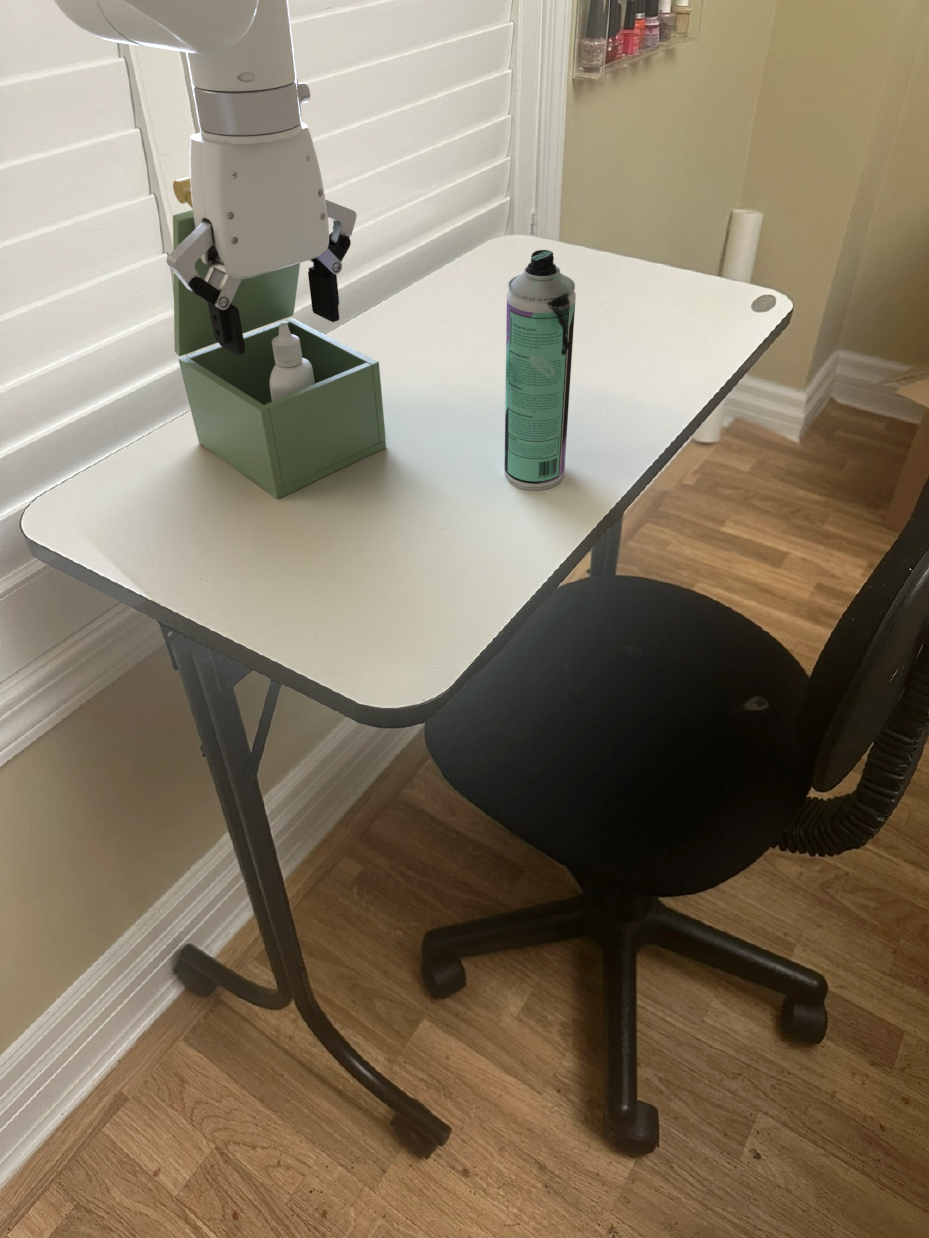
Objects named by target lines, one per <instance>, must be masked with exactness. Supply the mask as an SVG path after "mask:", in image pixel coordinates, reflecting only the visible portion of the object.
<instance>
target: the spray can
mask: <svg viewBox="0 0 929 1238" xmlns="http://www.w3.org/2000/svg"><path fill="white" fill-rule="evenodd" d="M554 261H555V259H554V252H553V251H551V250H548V249H538V250H535V251H533V252H532V253H531V256H530V262H529V263H528V265H527V266H526V267H525V268H524V269H523V272H522V273H521V274H518V275H516V276H514V277H512V278H511V279H510V280H509V281H508V283H507V284H508V285H507V289H508V290H507V292H506V322H505V323H506V328H505V402H504V403H505V404H504V477H505V479H506V481H507V482H508V483H510V484H511V485H512V486H514V487H516V488H518V489H521V490H525V491H526V490H527V491H543V490H549V489H551V488H553V487H556V486H557V485H559V484H560V483H561V482H562V481H563V480H564V477H565V468H566V451H567V437H568V422H569V420H568V419H569V406H570V405H569V404H570V402H569V401H570V390H571V375H572V374H571V373H572V360H573V359H572V358H573V344H574V343H573V342H574V328H575V312H576V298H577V297H576V295H577V294H576V292H575V290H576V283H575V282H574V280H573V279H572V278H570V277H569V276H567V275H564V274H563V273H561V269H560V268H559V266H557V265H556V263H555V262H554Z"/></svg>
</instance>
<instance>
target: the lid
mask: <svg viewBox="0 0 929 1238" xmlns="http://www.w3.org/2000/svg"><path fill="white" fill-rule="evenodd" d="M172 190H173V193H174V196H175V198H176V199H177V201H178V202H179V203H180V204H181V205H184V204H188V206H190V208H191V209H190V210H187V211H183V212H179V213H176V214H173V215H172V252H173V251H174V250H175V249H176V248H177V247H178V246H179V245H180V244H181V243H182V242H183V241H184V240H185V239H186V238H187V237H188V236H189V235H190V234H191V233H192V232H193V231H194V230H195V223H194V215H193V206H192V196H191V184H190V176H187V177H182V178H179V179H175V180H173V183H172ZM195 269H196V271H197V272H198V274H199V276H200V277H201V278H202V279H203V280H205V278H206V275H207V273H208V271H209V269H210V266H207V265H205V264H204V263H203V262H202V260H201V257H200V258H199V259H198V260H197V261H196V263H195ZM300 269H301V263H299V264H295V265H292V266H289V267H285V268H282V269H279V270H276V271H272V272H269V273H265V274H262V275H259V276H255V277H251V278H247V279H242V280H241V282H240V284H239V286H238V289H237V291H236V293H235V295H234V297H233V300H232V302H231V304H232V305H234V306H235V307H237V308H238V310H239V315H240V321H241V327H242V333H243V334H245V333H246V334H247V333H250V332H251V331H252V332H253V331H255V330H258V329H259V328H260V329H261V328H264V327H266V326H269V325H272V324H275V323H278V322H280V321H283V320H286V319H289V318H290V317H293V316H294V314H295V306H296V298H297V292H298V291H297V290H298V284H299V276H300ZM173 319H174V320H173V329H174V330H173V334H174V335H173V336H174V338H173V339H174V340H173V341H174V342H173V343H174V352H175V353H176V355H177V356H178V357H182V356H184V355H189V354H192V353H194V352H197V351H200V350H203V349H205V348H207V347H211V346H214V345H217V344H219V343H218V342H217V341H216V339H215V337H214V332H213V327H212V322H211V317H210V312H209V307H208V302H206V301H204V300H203V299H201V298H200V297H199V296H197V295H196V294H194V293H193V292H191V291H190V290H188V289H187V288H185V287H184V285H183V283H182V281H181V280H180V279H179V278H178V277H177V276H176V274H175V273H174V272H173Z"/></svg>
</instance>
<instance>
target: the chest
mask: <svg viewBox="0 0 929 1238" xmlns="http://www.w3.org/2000/svg"><path fill="white" fill-rule="evenodd" d="M281 323H286V324H287V325H288V328H289V331H290V333H291V334H292V335H296V336H297V337H298V338H299V339H300V346H301V353H302V358H305V359H307V360H308V361H309V362H310V363H311V365H312V369H313V375H314V381H315V384H313V385H311V386H309V387H306V388H304V389H301V390H299V391H296V392H294V393H292V394H289V395H287V396H284V397H282V398H279V399H277V400H275V401H272V399H271V392H270V376H271V372H272V370H273V368H274V366H275V365H276V363H275V359H274V353H273V347H272V340H273V339H274V338H275V337H277V336H278V335H279V324H281ZM243 338H244V344H245V351H244V354H241V355H236V354H234V353H232V352H231V351H229V350H227V349H225V348H224V347H222V346H221V345H220V344H219V343H217V344H214V345H212V346H209V347H208V348H207V347H206V348H203V349H201V350H198V351H195V352H192V353H190V354H187V355H186V356H183V357H182V356H181V357H180V358H178V363H179V368H180V371H181V372H180V373H181V375H182V379H183V384H184V388H185V393H186V396H187V400H188V404H189V409H190V412H191V417H192V420H193V425H194V428H195V429H194V430H195V432H196V436H197V440H198V443H199V444H200V445H201V446H202V447H204V448H206V449H207V450H208V451H210V453H212V454H214V455H215V456H216V457H218V458H219V459H221V460H222V461H224V462H225V463H226V464H228V465H229V466H231V467H232V468H233V469H235V470H236V471H237V472H239V473H241V474H242V475H244V477H246V478H247V479H249V481H252V482H253V483H255V484H256V485H257V486H258V487H260V488H261V489H263V490H264V491H266V492H267V493H268V494H270V495H271V496H273V498H276V499H277V500H279V499H281V498H283V497H285V496H287V495H290V494H291V493H293V492H295V491H297V490H300V489H302V488H304V487H306V486H309V485H310V484H312V483H315V482H316V481H318V480H321V479H323V478H325V477H326V476H329V475H332V474H334V473H336V472H338V471H340V470H342V469H344V468H346V467H348V466H350V465H352V464H354V463H356V462H358V461H361V460H363V459H365V458H367V457H369V456H371V455H373V454H375V453H377V452H379V451H381V450H383V449H385V448H387V441H386V438H387V437H386V427H385V418H384V417H385V416H384V404H383V395H382V394H383V393H382V392H383V391H382V382H381V372H380V371H381V370H380V363H379V361H377V360H375V359H373V358H372V357H370V356H367V355H366V354H363V353H362V352H360V351H357V350H355V349H354V348H352V347H349V346H348V345H347V344H344V343H342V342H340V341H338V340H337V339H335V338H333V337H330V336H328V335H326V334H325V333H322V332H321V331H319V330H317V329H315V328H312V327H311V326H309V325H307V324H305V323H303V322H301V321H299V320H297V319H295V318H293V317H291V318H290V317H289V318H286V319H284V320H281V321H278V322H275V323H272V324H270V325H267V326H264V327H261V328H260V329H256V330H253V331H252V332H251V331H250V332H248V333H246V334H243Z"/></svg>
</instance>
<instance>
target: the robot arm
mask: <svg viewBox="0 0 929 1238" xmlns="http://www.w3.org/2000/svg"><path fill="white" fill-rule="evenodd" d="M53 1H54V3H55V4H56V6H58V8H59V10H60V12H62V13H63V14H64V16H65V17H66V18H67V19H69V20H70V21H71V22H72V23H73V24H75V25H76V26H77V27H78V28H80V29H81V30H83V31H84V32H86V33H89V34H91V35H92V36H95V37H97V38H100V39H102V40H106V41H110V42H115V43H120V44H127V45H132V46H138V47H149V48H158V49H163V50H164V49H165V50H170V51H171V50H172V51H177V52H183V53H185V56H186V61H187V66H188V71H189V77H190V82H191V88H192V93H193V99H194V103H195V110H196V115H197V116H196V117H197V123H198V127H199V132H197V133H194V134H191V135H190V138H189V177H190V184H191V196H192V206H193V209H192V210H193V215H194V223H195V230H194V231H193V232H192V233H191V234H190V235H189V236H188V237H187V238H186V239H185V240H184V241H183V242H182V243H181V244H180V245H179V246H178V247H177V248H176V249H175V250H174V251H173V250H172V251H171V252H170V253H169V254H168V255H167V257H166V264H167V266H168V267H169V268H170V269H171V270H172V272H173V274H174V273H175V274H176V276H177V277H178V278H179V279H180V280H181V281H182V283H183V285H184V287H185V288H187V289H188V290H190V291H191V292H193V293H194V294H196V295H197V296H199V297H200V298H201V299H203V300H204V301H206V302H208V307H209V312H210V317H211V322H212V327H213V332H214V337H215V339H216V341H217V342H218V343H217V344H220V345H221V346H222V347H224V348H225V349H227V350H229V351H231V352H232V353H234V354H236V355H241V354H244V351H245V344H244V338H243V335H244V333H242V327H241V321H240V315H239V310H238V308H237V307H235V306H234V305H232V304H231V302H232V300H233V297H234V295H235V293H236V291H237V289H238V286H239V284H240V282H241V280H242V279H247V278H251V277H255V276H259V275H262V274H265V273H269V272H272V271H276V270H279V269H282V268H285V267H289V266H292V265H295V264H299V263H300V264H302V263H306V262H310V263H311V264H312V266H310V267H308V271H307V277H308V286H309V294H310V302H311V309H312V313H313V314H315V315H317V316H318V317H321V318H323V319H325V320H327V321H329V322H332V323H335V322H337V321H339V320H340V309H339V306H340V296H339V286H338V276H337V275H339V274H340V273H341V272H342V270H343V263H342V262H343V260H344V258H345V256H346V255H347V252H348V251H349V249H350V247H351V243H352V242H351V236H352V234H353V231H354V228H355V224H356V221H357V212H356V211H355V210H353V209H351V208H348V207H346V206H343V205H340V204H338V203H335V202H332V201H330V200H328V199H326V195H325V188H324V183H323V182H324V181H323V178H322V173H321V169H320V165H319V160H318V156H317V152H316V149H315V145H314V142H313V138H312V135H311V132H310V129H309V127H308V124H306V123H304V122H302V119H301V117H302V108H301V107H302V104H304V103H305V104H306V103H308V102H309V101H310V99H311V91H310V87H309V85H308V84H307V83H306V82H299V80H298V78H297V72H296V71H297V70H296V63H295V54H294V46H293V45H294V44H293V36H292V27H291V19H290V9H289V0H53ZM329 219H331V220H332V223H333V225H332V232H330V224H329ZM200 257H201V260H202V262H203V263H204V264H205V265H207V266H210V269H209V271H208V273H207V275H206V278H205V280H203V279H202V278H201V277H200V276H199V274H198V272H197V271H196V269H195V263H196V261H197V260H198V259H199V258H200Z"/></svg>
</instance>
